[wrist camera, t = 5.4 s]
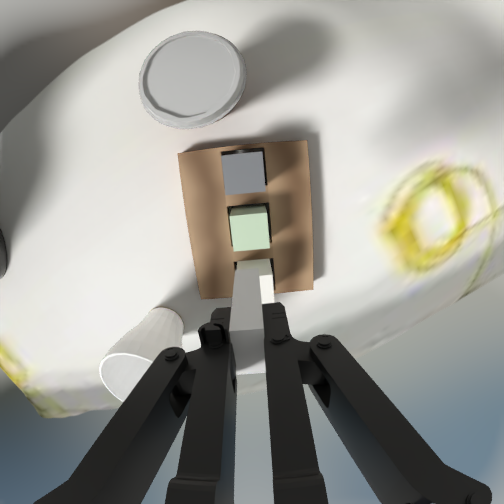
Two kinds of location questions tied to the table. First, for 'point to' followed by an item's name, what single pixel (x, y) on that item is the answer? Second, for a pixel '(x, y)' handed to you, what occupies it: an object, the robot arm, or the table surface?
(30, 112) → the table surface
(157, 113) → the disposable coffee cup
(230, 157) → the gray button
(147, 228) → the table surface
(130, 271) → the table surface
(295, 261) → the button board
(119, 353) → the cup
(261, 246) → the pale green block
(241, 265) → the white block
